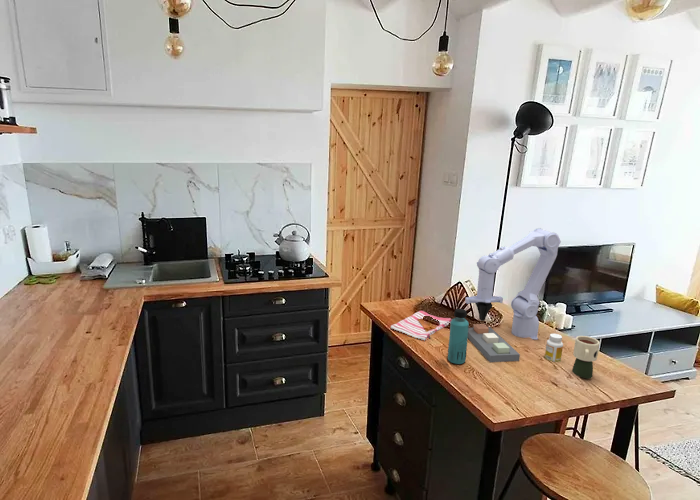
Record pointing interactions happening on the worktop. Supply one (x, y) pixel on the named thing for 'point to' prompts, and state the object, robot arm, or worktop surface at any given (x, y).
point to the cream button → (490, 338)
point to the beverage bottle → (458, 337)
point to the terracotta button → (480, 328)
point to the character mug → (585, 356)
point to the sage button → (501, 348)
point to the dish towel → (419, 325)
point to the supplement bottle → (554, 348)
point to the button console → (488, 347)
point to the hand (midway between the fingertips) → (481, 319)
